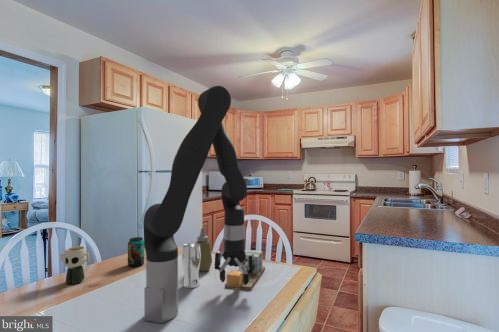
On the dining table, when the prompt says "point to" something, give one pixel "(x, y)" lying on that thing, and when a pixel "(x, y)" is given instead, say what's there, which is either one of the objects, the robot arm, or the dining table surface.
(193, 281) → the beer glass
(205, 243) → the squeeze bottle
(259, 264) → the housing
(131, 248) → the beverage can
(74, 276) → the character mug
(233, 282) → the shaft
